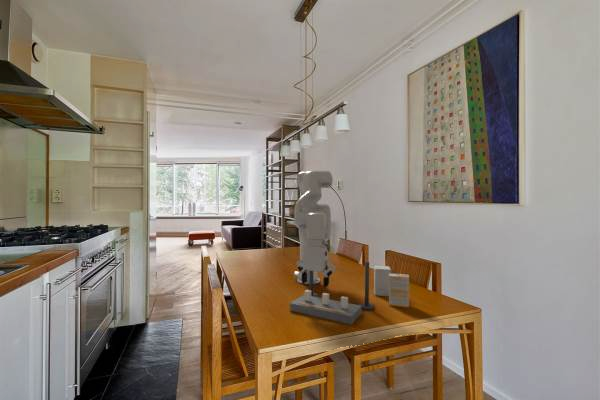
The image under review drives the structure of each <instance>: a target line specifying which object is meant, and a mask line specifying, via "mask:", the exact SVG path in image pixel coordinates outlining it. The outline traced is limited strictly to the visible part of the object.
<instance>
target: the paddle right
mask: <svg viewBox="0 0 600 400" xmlns="http://www.w3.org/2000/svg"><path fill="white" fill-rule="evenodd" d="M340 302H341V308H344V309H347V308H348V303H349V296H342V295H341V297H340Z"/></svg>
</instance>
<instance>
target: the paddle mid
mask: <svg viewBox="0 0 600 400" xmlns="http://www.w3.org/2000/svg"><path fill="white" fill-rule="evenodd" d="M321 298H322V304H325V305H328V304H329V300H330V293H326V292H323V293H322V294H321Z"/></svg>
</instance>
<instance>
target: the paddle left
mask: <svg viewBox="0 0 600 400" xmlns="http://www.w3.org/2000/svg"><path fill="white" fill-rule="evenodd" d="M304 295H305V296H304V300H305V301H311V291H310V289H306V290H304Z"/></svg>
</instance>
